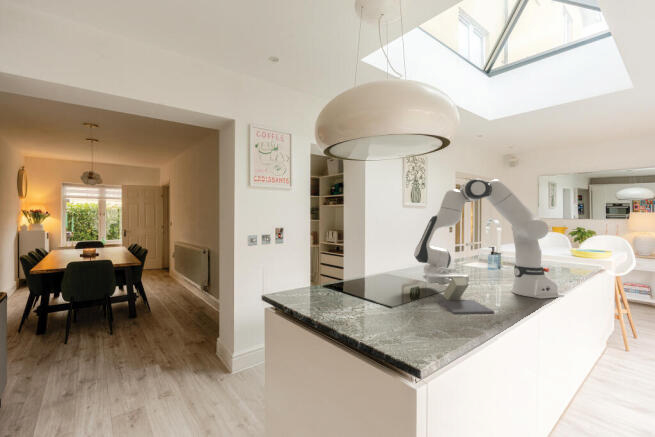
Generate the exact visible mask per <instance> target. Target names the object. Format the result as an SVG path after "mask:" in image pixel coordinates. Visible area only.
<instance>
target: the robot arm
mask: <svg viewBox="0 0 655 437" xmlns="http://www.w3.org/2000/svg"><path fill="white" fill-rule="evenodd" d="M481 199H486V200H487V201H488V202H489V203H491V205H492V206H493V207H494V209H496V211H497V212H498V213H499V214H500V215H501V217H502V218H504V219H505V220H506V221H507V222H509V223H510V224H511V231H512V236H513V242H514V249H515V251H514V253H515V262H514V265H513V272H514V278H513V284H512V286H511V287H512V288H511V290H510V292H511V293H512V294H515V295H519V296H524V297H529V298H536V299H551V298H563V297H564V296H565V294H563V293H562V292H560V291H559V288H558V285H557V283H556V281H554V280H553V279H552V278H550V277H549V276H547V275H546V273H549V272H550V269H549V267H548V268H547V267H543V266H542V249H541V247H540V244H539V243H540V242H539V240H541V239H543V238H545V237H546V236H547V235H548V233H549V226H548V223H547V222H546V221H544V220H543V219H542V218H540V217H539V216H538V215H537V214H536V213H535V212H533V211H532V210H531V209H530V208H529V207H528V206H527V205H525V203H524V202H522V201H521V199H520V198H519V197H518V196H517V195H516V194H515V192H513V191H512V189H510V188H509V187H508V186H507V185H506V184H505V183H503V182H502V181H501V180H499V179H492V180H489V181H488V180H484V179H481V178H473V179H469V180H468V181H466V182H465V183H464V184H462V185H461V186H460V187H459V188H458V189H455V188H454V189H453V188H452V189H449V190H447V191H446V192H445V194H444V196H443V198H442V202H441V204H440V208H439V210H438V211H437V213H436V215H434V216H433V215H432V216H431V218H430V219H429V221H428V223H427V226H426V227H425V229H424V231H423V234H422V236H421V238H420V240H419V242H418V244H417V245H416V247H415V250H414V255H413V256H414V258H415V259H416V261H417V262H418V263H421V264H425V265H424V266H423V273H424V275H422V278H423V279H425V281H426V283H428V284H438V285H440V286H445V285H449V283H450V282H451V280H452V278H458V277H465V279H466V280H467V282H468V283H469V282H470V276H469V275H468V274H467V273H465V272H462V271H460V269H456V268H449V267H450V265H451V261H452V257H451V254H450V251H448V249H445V248H442V247H437V246H433V245H430V243H431V241H432V239H433V236H434V234H435V232H436V231H437V230H439V229H441V228H446V227H447V228H448V227H452V226H455V225H457V224H458V223H459V222H460V220H461V217H462V214H463V209H464V206H465V204H466V203H469V202H476V201H479V200H481ZM564 298H565V297H564Z"/></svg>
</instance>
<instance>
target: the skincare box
mask: <svg viewBox="0 0 655 437" xmlns="http://www.w3.org/2000/svg"><path fill="white" fill-rule="evenodd" d="M469 285H470V284H469V282H467V280H466V279H465V277H458V278H452V280H451V282H450V283H449V284H447V287H446V289H445V290H444V292H443V295H444V297H445V300H461V297H462V296H463V294H464V293H465V291H466V289H467V288H468V287H469Z"/></svg>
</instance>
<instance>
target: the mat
mask: <svg viewBox="0 0 655 437" xmlns="http://www.w3.org/2000/svg"><path fill="white" fill-rule="evenodd" d="M437 303H439V304H440V305H441V306H442V307H444V308H445V309H446V310H448V311H449V312H450V313H451V314H454V315H467V314H470V315H471V314H475V315H476V314H478V315H479V314H495V311H494V310H492V309H491V308H489V307H487V306H485V305H484V304H482V303H479V301H476V300H474V299H459V300H447V299H443V300H441V299H440V300H439V299H438V300H437Z"/></svg>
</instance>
